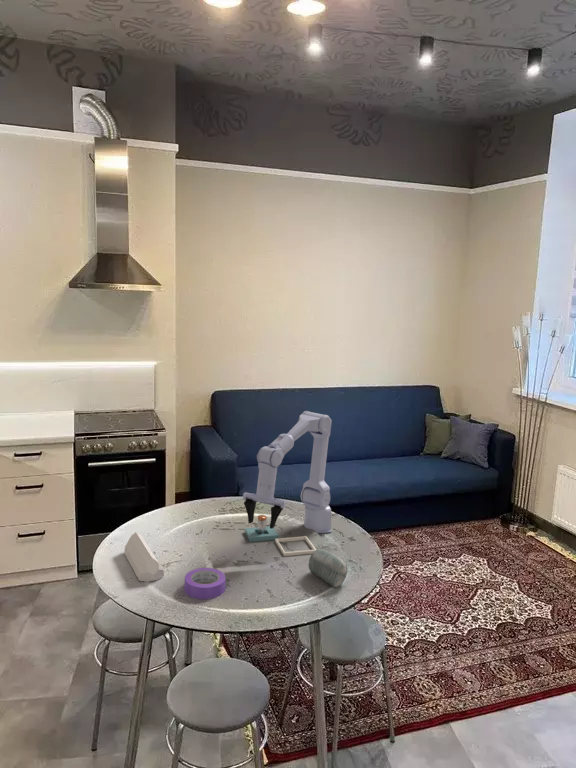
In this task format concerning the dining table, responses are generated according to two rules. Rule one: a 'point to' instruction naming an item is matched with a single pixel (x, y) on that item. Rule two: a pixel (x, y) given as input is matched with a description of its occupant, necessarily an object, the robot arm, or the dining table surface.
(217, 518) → the dining table surface
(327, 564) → the grey green streaked cylinder
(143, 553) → the crystal
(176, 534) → the dining table surface
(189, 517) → the dining table surface
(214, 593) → the masking tape
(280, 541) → the tray
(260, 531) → the copper-capped cylinder
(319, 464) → the robot arm
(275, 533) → the teal socket block
